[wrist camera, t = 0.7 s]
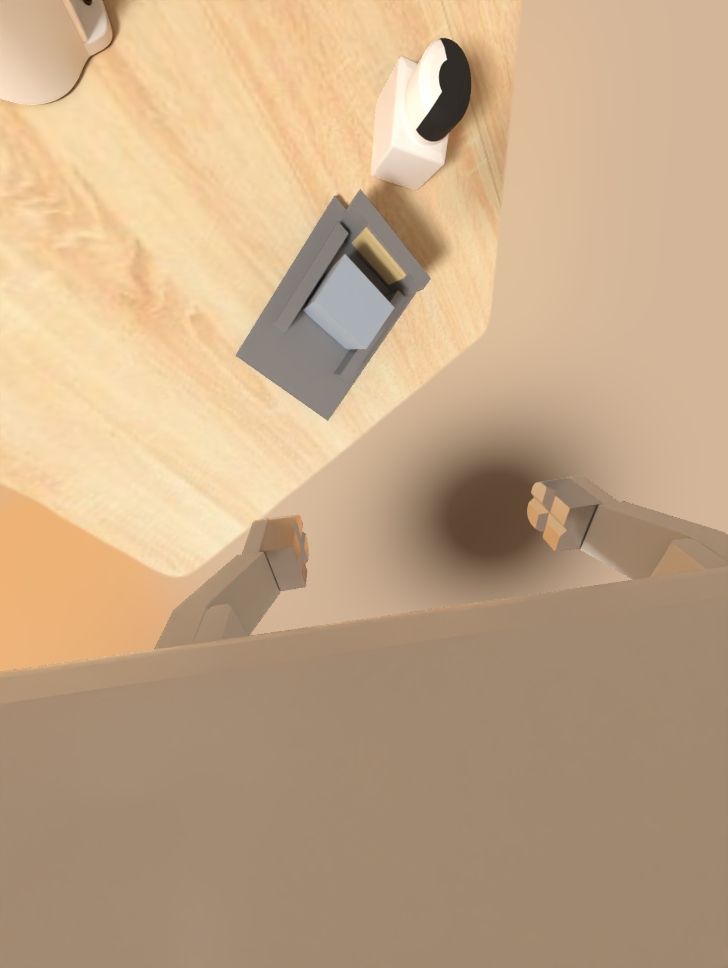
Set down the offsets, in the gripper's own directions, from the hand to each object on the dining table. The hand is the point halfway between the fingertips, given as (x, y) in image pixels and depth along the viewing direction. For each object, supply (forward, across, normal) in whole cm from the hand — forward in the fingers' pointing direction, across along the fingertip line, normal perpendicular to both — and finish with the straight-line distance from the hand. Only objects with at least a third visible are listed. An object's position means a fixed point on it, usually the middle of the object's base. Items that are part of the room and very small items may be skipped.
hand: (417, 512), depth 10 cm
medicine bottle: (+49, -9, -22) cm, 54 cm away
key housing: (+43, +3, -3) cm, 43 cm away
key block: (+42, +2, -4) cm, 42 cm away
